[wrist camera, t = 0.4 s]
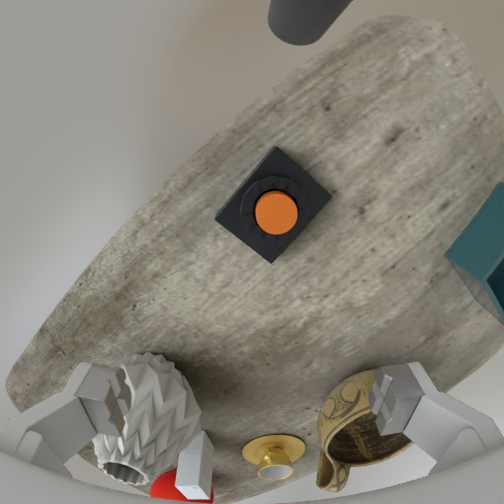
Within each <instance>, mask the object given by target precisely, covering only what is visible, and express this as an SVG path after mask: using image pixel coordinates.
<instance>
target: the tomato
mask: <svg viewBox="0 0 504 504" xmlns="http://www.w3.org/2000/svg"><path fill="white" fill-rule="evenodd" d="M176 474H177V470H172V471H169V472H166V473H164V474H162V475H160V476H159V477H158V478H157V479H156V480H155V482H154V483H153V485H152V486H151V491H150V495H151V497H155V498H161V499H169V500H177V501H186V502H197V503H213V499H214V493H213V489H212V487H211V495H210V499H187V498H186V497H185V496H184V495H183V494H182V493H181V492H180V491H179V490H178V489H177V488H176V487H175V481H176Z"/></svg>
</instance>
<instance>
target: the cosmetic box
mask: <svg viewBox="0 0 504 504" xmlns="http://www.w3.org/2000/svg"><path fill="white" fill-rule="evenodd" d="M213 455H214V446H213V444H212V443H211V441H210V439H209V438H208V436H207V434H206V432H205V431H200V433H199V434H198V435H197V436H196V437H195V439H194V440H193V441H192V442H191V443H190V444H189V446H188V447H187V448H186V449H184V450H182V451H180V455H179V461H178V468H177V474H176V481H175V487H176V488H177V489H178V490H179V491H180V492H181V493H182V494H183V495H184V496H185V497H186V498H187V499H210V495H211V481H212V468H213Z"/></svg>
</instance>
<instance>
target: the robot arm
mask: <svg viewBox="0 0 504 504" xmlns="http://www.w3.org/2000/svg"><path fill="white" fill-rule="evenodd" d="M374 378H375V380H376V381H375V382H374V383H373V384H372V385H371V386H370V389H369V393H368V402H369V407H370V410H371V412H372V413H374V414H375V415H377V418H376V420H375V423H376V425H377V428H378V430H379V433H380V436H383V435H389V434H394V433H400V432H403V434H405V435H406V436H407V437H408V438H409V439H411V440H412V441H413V442H414V443H415V444H417V445H418V446H419V447H420V448H421V449H423V450H424V451H425V452H426V453H427V454H429V455H430V456H431V457H432V458H434V459H435V460H436V461H437V463H436V465H435V466H434V467H433V469H432V470H431V471H430V472H429V474H428V476H425V477H422V478H419V479H416V480H412V481H409V482H406V483H402V484H398V485H394V486H391V487H387V488H383V489H378V490H374V491H369V492H365V493H360V494H355V495H349V496H343V497H336V498H330V499H323V500H314V501H306V502H294V503H280V504H504V437H503V435H502V434H501V432H500V430H499V429H498V427H497V426H496V424H495V422H494V421H493V419H492V418H490V417H488V416H487V415H485V414H483V413H481V412H479V411H477V410H475V409H474V408H472V407H470V406H468V405H466V404H464V403H463V402H460V401H459V400H457V399H455V398H453V397H452V396H450V395H448V394H446V393H444V392H442V391H441V392H438V390H437V389H436V387H435V385H434V384H433V382H432V381H431V379H430V377H429V376H428V374H427V373H426V371H425V370H424V368H423V367H422V365H421V364H420V363H419V362H411V363H405V364H399V365H393V366H385V367H378V368H377V370H376V371H375V374H374ZM125 379H126V374H125V371H124V369H122V368H119V367H112V366H106V365H100V364H92V363H87V362H81V363H79V364H78V366H77V368H76V369H75V371H74V373H73V374H72V376H71V378H70V379H69V381H68V383H67V384H66V386H65V388H64V390H63V391H62V393H56V394H54V395H53V396H51V397H49V398H47V399H46V400H44V401H42V402H40V403H39V404H37V405H35V406H33V407H31V408H30V409H28V410H26V411H24V412H23V413H21V414H19V415H17V416H15V417H14V418H12V419H10V420H8V422H7V423H6V425H5V426H4V428H3V430H2V431H1V433H0V504H212V503H197V502H186V501H177V500H169V499H161V498H155V497H148V496H143V495H137V494H132V493H127V492H122V491H117V490H113V489H109V488H104V487H101V486H97V485H93V484H89V483H86V482H82V481H79V480H76V479H73V477H72V475H71V473H70V472H69V471H68V470H67V469H66V467H65V466H64V465H63V464H64V463H65V462H67V461H68V460H69V459H70V458H71V457H72V456H74V455H75V454H76V453H77V452H78V451H79V450H81V449H82V448H83V447H84V446H85V445H86V444H88V443H89V442H90V441H91V440H92V439H93V438H94V437H96V436H97V434H103V435H108V436H114V437H121V434H122V431H123V428H124V425H125V420H124V418H123V416H125V415H126V414H128V413H129V411H130V408H131V400H132V396H131V390H130V387H129V386H128V385H127V384H126V383H125V382H124V381H125Z"/></svg>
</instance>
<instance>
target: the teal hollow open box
mask: <svg viewBox="0 0 504 504" xmlns="http://www.w3.org/2000/svg"><path fill="white" fill-rule="evenodd" d="M444 255H445V257H446V258H447V259H448V261H449V262H450V263H451V265H452V266H453V267H454V269H455V270H456V272H457V273H458V274H459V276H460V277H461V279H462V280H463V282H464V283H465V285H466V286H467V288H468V289H469V291H470V292H471V294H472V295H473V297H474V298H475V300H476V301H477V302H478V303H479V304H480V305H482V306H483V307H484V308H485V309H486V310H487V311H488V312H489V313H491V314H492V315H493V316H494V317H495V318H496V319H497V320H498V321H499V322H500V323H501V324H502V325H503V326H504V183H501V182H499V184H498V185H497V186H496V188H495V189H494V191H493V192H492V194H491V195H490V196H489V198H488V199H487V201H486V202H485V203H484V205H483V206H482V208H481V209H480V210H479V212H478V213H477V214H476V216H475V217H474V218H473V220H472V221H471V222H470V223H469V225H468V226H467V227H466V229H465V230H464V231H463V232H462V234H461V235H460V236H459V237H458V239H457V240H456V241H455V242H454V244H453V245H452V246H451V247H450V248H449V250H448V251H447V252H446V253H445V254H444Z"/></svg>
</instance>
